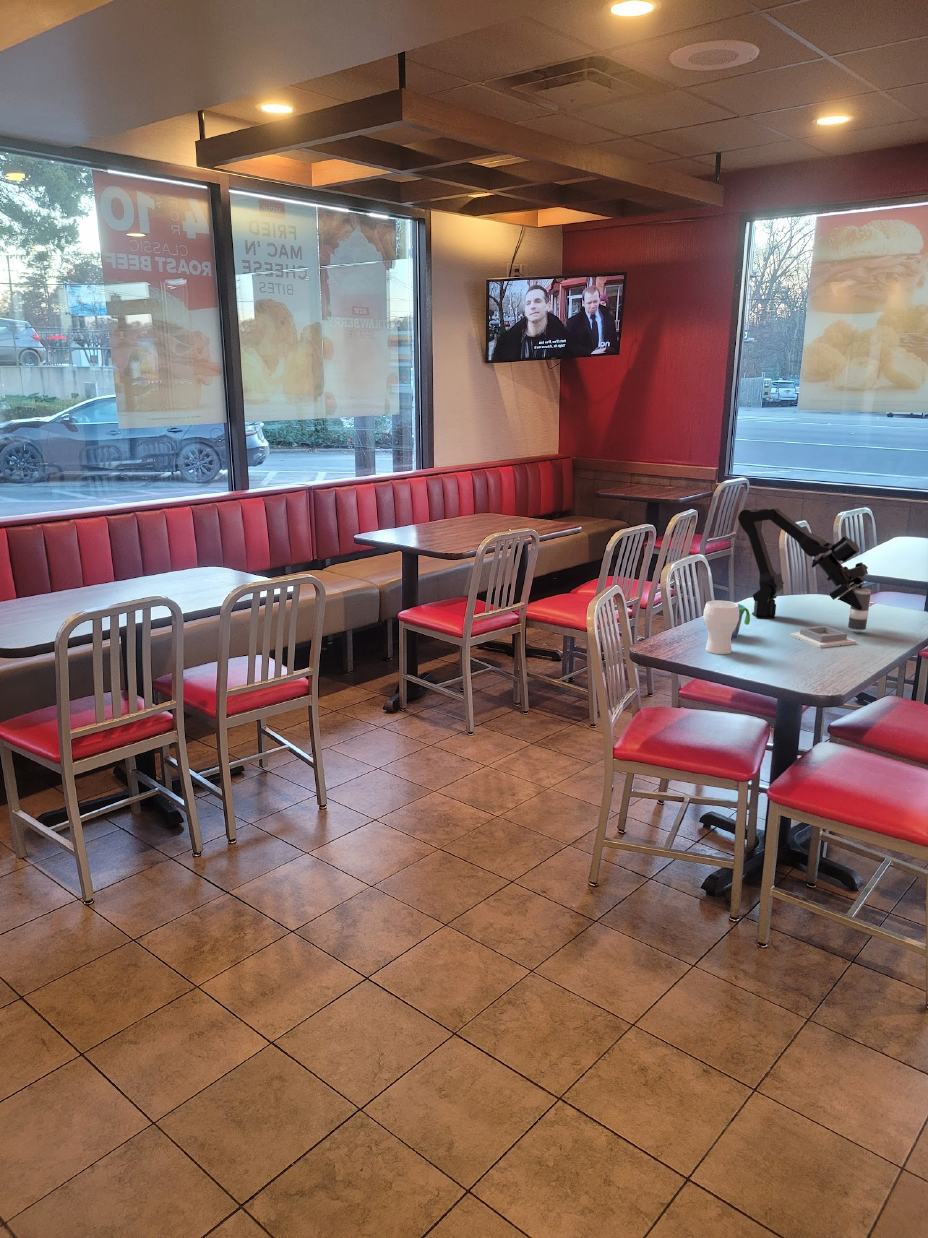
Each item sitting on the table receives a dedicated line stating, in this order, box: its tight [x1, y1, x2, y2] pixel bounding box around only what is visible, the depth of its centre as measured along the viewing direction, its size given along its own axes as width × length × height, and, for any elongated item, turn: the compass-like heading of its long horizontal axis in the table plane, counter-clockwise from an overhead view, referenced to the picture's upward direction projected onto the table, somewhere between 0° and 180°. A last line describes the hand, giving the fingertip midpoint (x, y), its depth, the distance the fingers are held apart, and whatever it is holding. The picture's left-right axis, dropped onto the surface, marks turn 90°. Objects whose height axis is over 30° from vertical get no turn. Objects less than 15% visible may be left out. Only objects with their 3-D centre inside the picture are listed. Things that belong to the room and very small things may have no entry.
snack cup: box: [703, 602, 751, 638], centre depth 295 cm, size 16×10×10 cm
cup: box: [703, 600, 739, 655], centre depth 278 cm, size 11×11×15 cm
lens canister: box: [847, 587, 872, 631], centre depth 297 cm, size 6×6×13 cm
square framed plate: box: [790, 625, 857, 649], centre depth 291 cm, size 14×14×3 cm
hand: (864, 607), depth 296 cm, fingers closed on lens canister, 5 cm apart
